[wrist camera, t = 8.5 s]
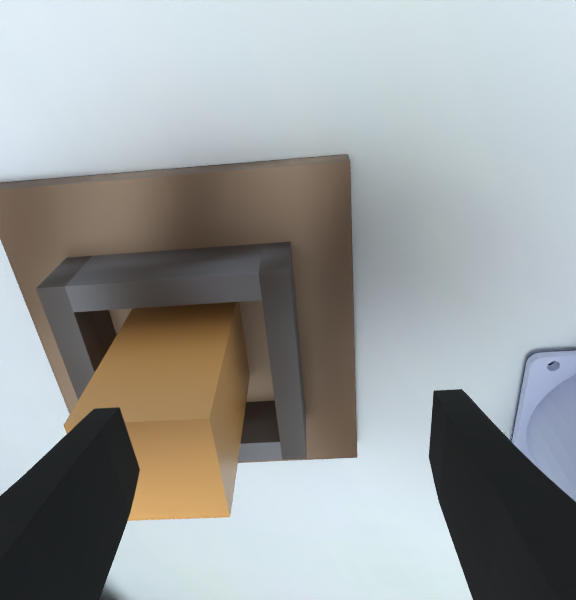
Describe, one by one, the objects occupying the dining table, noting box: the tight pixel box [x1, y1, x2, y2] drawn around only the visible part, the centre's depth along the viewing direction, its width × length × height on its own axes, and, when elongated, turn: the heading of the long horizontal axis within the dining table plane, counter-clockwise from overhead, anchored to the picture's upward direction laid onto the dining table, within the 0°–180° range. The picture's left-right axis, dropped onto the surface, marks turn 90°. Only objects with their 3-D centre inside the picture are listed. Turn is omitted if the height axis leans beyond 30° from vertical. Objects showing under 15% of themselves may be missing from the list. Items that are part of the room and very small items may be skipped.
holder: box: [0, 155, 357, 463], centre depth 20 cm, size 13×14×4 cm
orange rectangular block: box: [64, 302, 250, 521], centre depth 17 cm, size 4×4×7 cm
